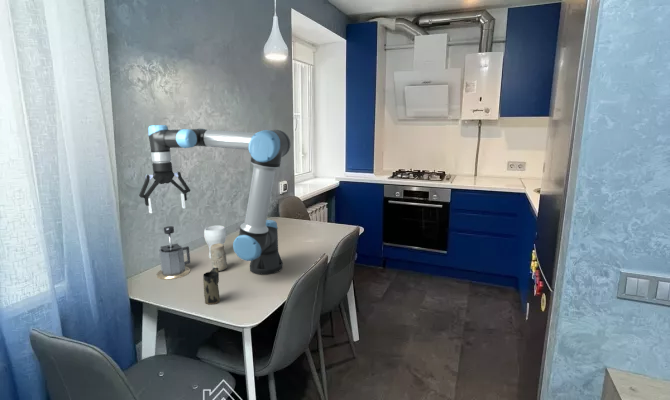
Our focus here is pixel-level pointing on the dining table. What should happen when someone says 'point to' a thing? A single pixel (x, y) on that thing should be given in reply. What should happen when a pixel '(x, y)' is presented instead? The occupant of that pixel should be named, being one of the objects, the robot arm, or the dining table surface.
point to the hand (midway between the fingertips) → (167, 210)
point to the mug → (211, 286)
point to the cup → (214, 236)
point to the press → (173, 262)
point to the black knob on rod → (169, 233)
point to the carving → (218, 256)
